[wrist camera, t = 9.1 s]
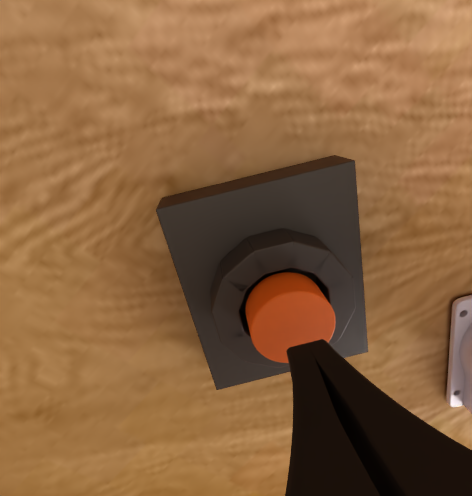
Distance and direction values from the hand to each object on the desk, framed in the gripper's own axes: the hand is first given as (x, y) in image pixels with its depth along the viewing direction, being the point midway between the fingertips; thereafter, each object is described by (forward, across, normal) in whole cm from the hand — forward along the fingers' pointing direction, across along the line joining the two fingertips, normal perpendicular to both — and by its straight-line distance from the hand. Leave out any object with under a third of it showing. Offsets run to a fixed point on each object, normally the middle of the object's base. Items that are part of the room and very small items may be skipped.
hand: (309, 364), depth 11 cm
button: (+4, 0, 0) cm, 4 cm away
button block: (+7, 0, 0) cm, 7 cm away
